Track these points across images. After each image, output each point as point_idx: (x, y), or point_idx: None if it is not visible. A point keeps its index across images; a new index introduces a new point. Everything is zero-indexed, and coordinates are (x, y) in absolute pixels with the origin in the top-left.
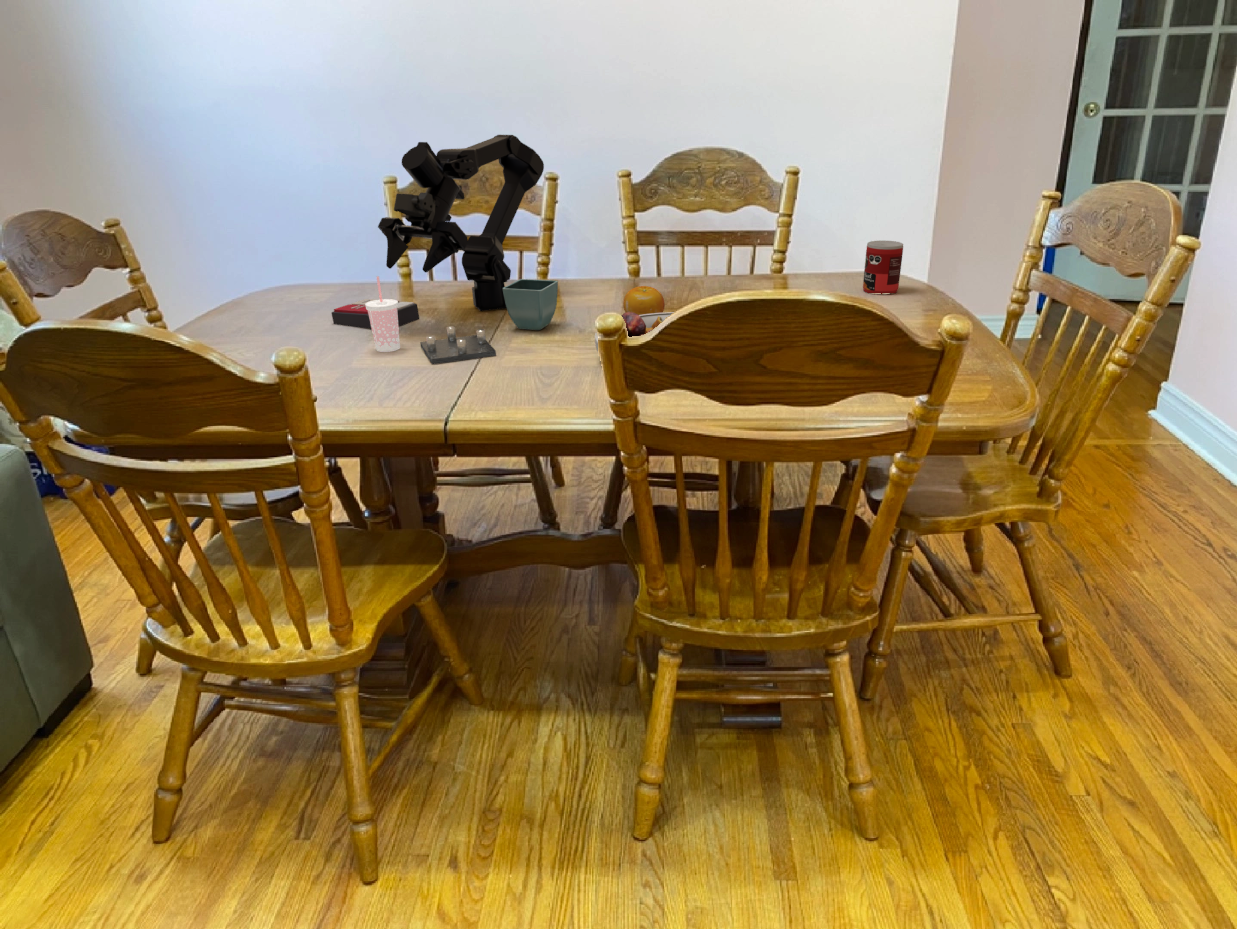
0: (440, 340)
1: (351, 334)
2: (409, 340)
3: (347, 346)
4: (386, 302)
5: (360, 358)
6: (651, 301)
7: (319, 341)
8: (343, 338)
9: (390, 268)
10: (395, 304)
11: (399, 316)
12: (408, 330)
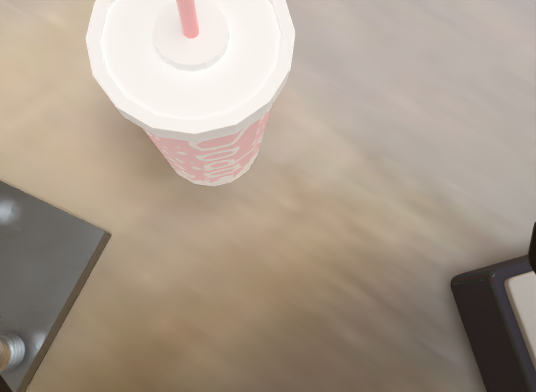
0: (43, 307)
1: (514, 158)
2: (240, 264)
3: (365, 60)
4: (157, 47)
5: None
6: None
7: (509, 32)
8: (481, 108)
9: (531, 261)
10: (94, 75)
11: (510, 390)
12: (386, 358)
